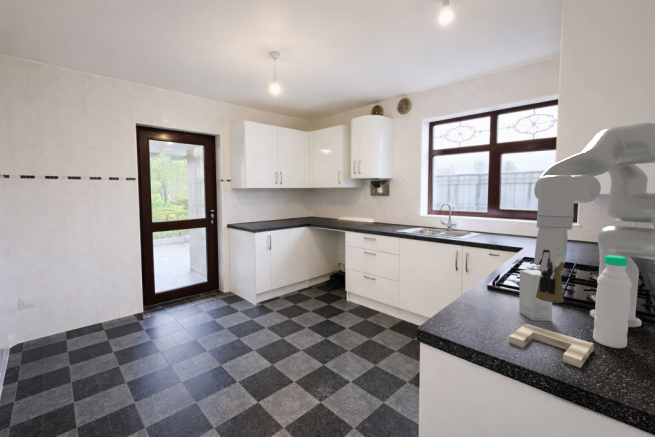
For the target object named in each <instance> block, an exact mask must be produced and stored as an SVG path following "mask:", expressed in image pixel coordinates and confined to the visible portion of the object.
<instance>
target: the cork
mask: <svg viewBox="0 0 655 437" xmlns="http://www.w3.org/2000/svg"><path fill="white" fill-rule="evenodd" d="M541 262H542V260H541ZM552 263H553V262H552ZM552 265H553V264H548V266H551V267H553V266H552ZM540 266H541V263H540V265H539V267H540ZM564 266H565V263H563V262H561V263H560V265H559V266H558V267H556V268H555V275H554V279H556V282H555V293H554V294H549V293H548V291H547V292H545V293H544V292H541V291H540V280H539V285H538V289H537V294H536V298H538V299H540V300H543V301H547V302H552V303H555V304H556V303H557V304H559V303H564V302H565V300H564V291H563V282H562V271H564ZM548 269H549V268H548ZM549 270H550V271H551V269H549Z"/></svg>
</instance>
